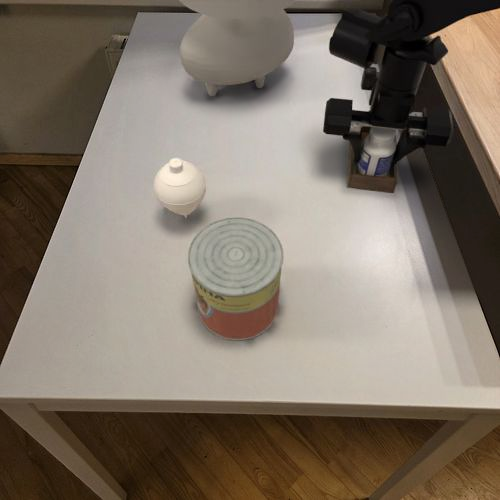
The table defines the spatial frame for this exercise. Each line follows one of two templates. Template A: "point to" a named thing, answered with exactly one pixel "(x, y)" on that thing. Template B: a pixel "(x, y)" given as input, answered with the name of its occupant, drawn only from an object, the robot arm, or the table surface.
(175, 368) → the table surface
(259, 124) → the table surface
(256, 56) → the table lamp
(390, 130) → the pill bottle
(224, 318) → the canned food
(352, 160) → the holder
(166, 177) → the spinning top
